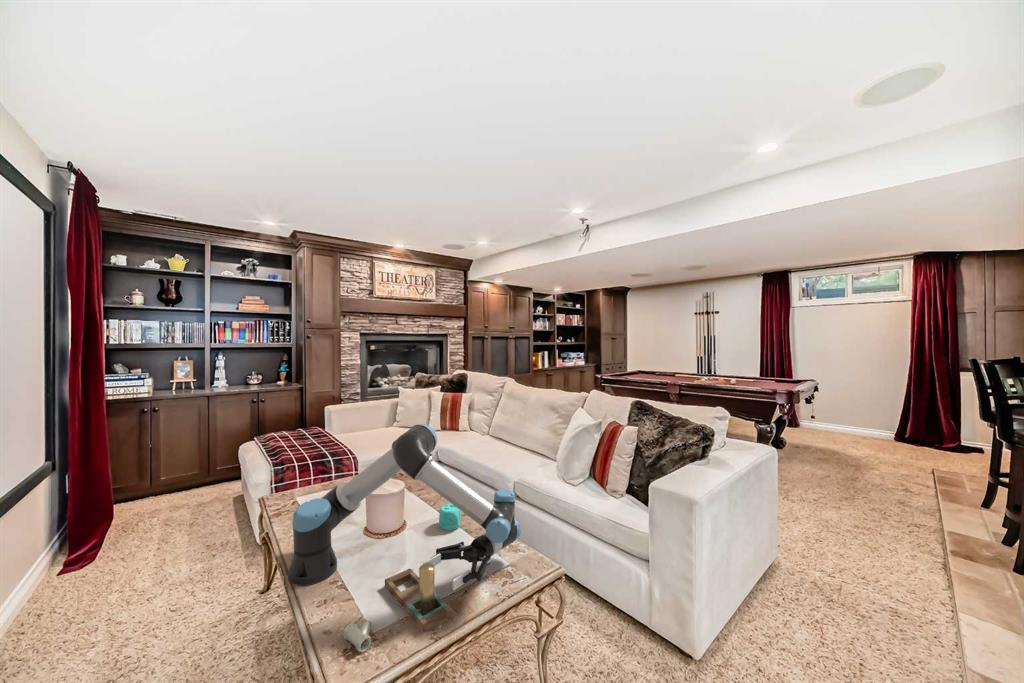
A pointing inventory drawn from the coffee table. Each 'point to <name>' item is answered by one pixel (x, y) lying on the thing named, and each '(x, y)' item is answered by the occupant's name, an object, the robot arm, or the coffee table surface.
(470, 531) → the coffee table surface
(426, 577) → the brass peg
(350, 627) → the pipe fitting
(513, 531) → the robot arm
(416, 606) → the walnut rail
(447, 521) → the decorative dice
